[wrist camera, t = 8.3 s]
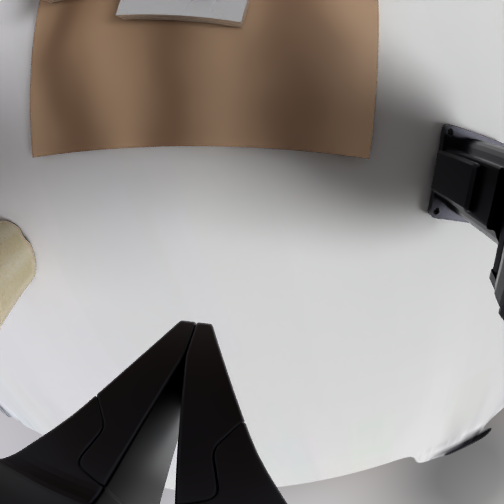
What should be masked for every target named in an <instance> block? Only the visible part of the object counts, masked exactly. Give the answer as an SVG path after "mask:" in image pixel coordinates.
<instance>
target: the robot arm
mask: <svg viewBox="0 0 504 504" xmlns="http://www.w3.org/2000/svg"><path fill="white" fill-rule="evenodd" d="M448 129H450V134H448ZM435 208H437V210H436V212H434V209H435ZM428 213H429V214H430V215H431V216H432V217H434V218H438V219H446V220H453V221H460V222H467V223H470V224H472V225H473V226H474V227H476V228H477V229H479V230H480V231H481V232H483V233H484V234H485V235H486V236H488V237H489V238H490V239H492V240H493V241H494V242H496V243H497V244H498V248H497V253H496V258H495V262H494V267H493V269H492V270H491V273H490V277H489V278H490V280H491V283H492V285H493V287H494V289H495V296H496V299H497V301H498V304H499V306H500V309H499V315H500V316H501V318H502V319H503V320H504V144H503V143H501V142H498V141H496V140H493V139H491V138H488V137H485V136H483V135H480V134H477V133H474V132H472V131H469V130H466V129H463V128H460V127H457V126H454V125H450V124H445V125H444V126H443V127H442V132H441V140H440V147H439V152H438V155H437V161H436V167H435V173H434V178H433V184H432V193H431V198H430V202H429V207H428ZM177 440H178V450H177V468H176V490H175V504H287V503H286V501H285V500H284V498H283V496H282V495H281V493H280V492H279V490H278V488H277V487H276V485H275V484H274V482H273V480H272V479H271V477H270V475H269V474H268V472H267V470H266V468H265V466H264V465H263V463H262V461H261V459H260V457H259V455H258V453H257V451H256V449H255V446H254V444H253V441H252V439H251V437H250V434H249V432H248V429H247V426H246V424H245V423H244V418H243V416H242V413H241V410H240V407H239V404H238V402H237V399H236V396H235V393H234V390H233V387H232V384H231V381H230V378H229V375H228V372H227V369H226V366H225V363H224V360H223V357H222V354H221V351H220V348H219V345H218V341H217V338H216V335H215V332H214V329H213V326H212V325H211V324H206V323H197V324H196V323H195V322H190V321H180V322H179V323H178V324H176V325H175V326H174V327H173V328H172V329H171V330H170V331H169V332H167V333H166V334H165V335H164V336H163V337H162V338H161V339H159V340H158V341H157V342H156V343H155V344H154V345H153V346H152V347H150V348H149V349H148V350H147V351H146V352H145V353H144V354H142V355H141V356H140V357H139V358H138V359H137V360H136V361H135V362H133V363H132V364H131V365H130V366H129V367H128V368H127V369H125V370H124V371H123V372H122V373H121V374H120V375H119V376H118V377H116V378H115V379H114V380H113V381H112V382H111V383H110V384H108V385H107V386H106V387H105V388H104V389H103V390H102V391H100V392H99V393H98V394H97V397H96V396H95V397H93V398H92V399H91V400H90V401H89V402H88V403H87V404H85V405H84V406H83V407H82V408H81V409H79V410H78V411H77V412H76V413H75V414H73V415H72V416H71V417H70V418H68V419H67V420H65V421H64V422H63V423H61V424H60V425H58V426H57V427H56V428H54V429H53V430H51V431H50V432H48V433H47V434H45V435H44V436H42V437H41V438H39V439H38V440H36V441H35V442H33V443H32V444H30V445H28V446H27V447H26V448H24V449H22V450H21V451H19V452H17V453H16V454H14V455H11V456H9V457H6V458H3V459H0V504H160V501H161V497H162V493H163V490H164V486H165V482H166V479H167V475H168V472H169V468H170V465H171V461H172V457H173V454H174V450H175V447H176V443H177Z"/></svg>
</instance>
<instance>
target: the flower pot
mask: <svg viewBox="0 0 504 504" xmlns="http://www.w3.org/2000/svg"><path fill="white" fill-rule="evenodd" d="M35 272H36V261H35V256H34V252H33V249H32V247H31V244H30V243H29V242H28V241H27V240H26V239H25V238H24V236H23V234H22V232H21V230H20V228H19V227H17V226H16V225H15V224H13V223H11V222H9V221H0V327H1V325H2V324H3V322H4V320H5V319H6V317H7V316H8V314H9V312H10V311H11V309H12V308H13V306H14V305H15V303H16V302H17V300H18V299H19V297H20V296H21V294H22V293H23V292H24V290H25V289H26V288H27V286H28V285H29V284H30V282H31V281H32V279H33V277H34V275H35Z"/></svg>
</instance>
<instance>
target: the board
mask: <svg viewBox="0 0 504 504" xmlns="http://www.w3.org/2000/svg"><path fill="white" fill-rule="evenodd" d="M119 3H120V0H62V1H57V2H52V3H50V2H47V1H44V0H40V2H39V7H38V13H37V19H36V26H35V33H34V42H33V51H32V64H31V84H30V120H31V141H32V154H33V157H39V156H46V155H54V154H62V153H70V152H80V151H90V150H102V149H115V148H132V147H156V146H230V147H254V148H272V149H286V150H298V151H309V152H319V153H329V154H337V155H345V156H353V157H360V158H367V159H369V157H370V149H371V141H372V132H373V122H374V112H375V100H376V86H377V68H378V37H379V11H378V0H250V2H249V5H248V9H247V12H246V16H245V19H244V23H243V27H242V28H240V27H233V26H227V25H219V24H211V23H202V22H191V21H178V20H152V19H132V20H124V19H122V18H120V17H118V16H116V12H117V9H118V6H119Z"/></svg>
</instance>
